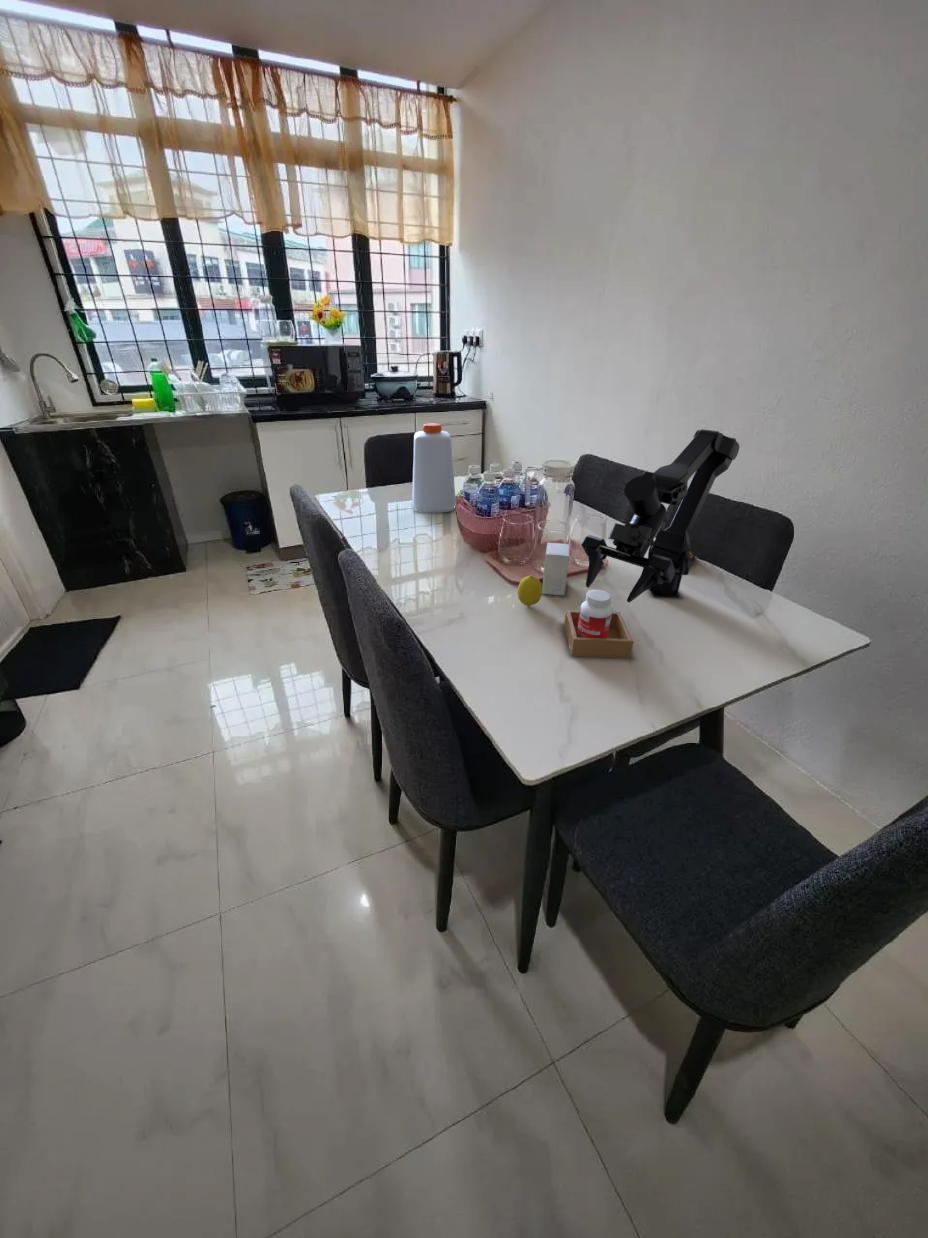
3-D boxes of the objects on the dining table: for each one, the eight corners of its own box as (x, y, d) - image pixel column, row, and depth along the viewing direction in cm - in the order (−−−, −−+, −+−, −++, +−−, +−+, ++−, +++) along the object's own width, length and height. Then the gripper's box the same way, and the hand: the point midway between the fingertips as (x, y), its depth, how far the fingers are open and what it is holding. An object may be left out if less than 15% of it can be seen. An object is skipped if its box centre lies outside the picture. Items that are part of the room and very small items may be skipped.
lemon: (542, 603, 118) (545, 572, 114) (537, 614, 114) (540, 582, 110) (519, 599, 120) (522, 568, 116) (513, 609, 115) (516, 578, 111)
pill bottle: (570, 642, 103) (576, 595, 97) (584, 631, 107) (591, 584, 101) (597, 654, 100) (606, 605, 94) (611, 641, 104) (620, 594, 98)
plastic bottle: (412, 500, 186) (409, 420, 171) (452, 499, 187) (453, 420, 173) (413, 514, 173) (409, 428, 158) (456, 513, 174) (457, 428, 160)
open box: (617, 627, 109) (620, 611, 107) (630, 657, 99) (633, 641, 97) (563, 625, 110) (565, 610, 108) (571, 655, 100) (573, 639, 98)
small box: (564, 596, 122) (569, 556, 116) (541, 594, 122) (545, 554, 117) (565, 582, 128) (570, 543, 123) (543, 580, 129) (547, 541, 124)
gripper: (592, 496, 101) (555, 562, 99) (683, 518, 90) (642, 593, 89) (605, 524, 110) (571, 585, 108) (690, 547, 99) (653, 615, 97)
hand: (606, 593), depth 100 cm, fingers open, 9 cm apart
